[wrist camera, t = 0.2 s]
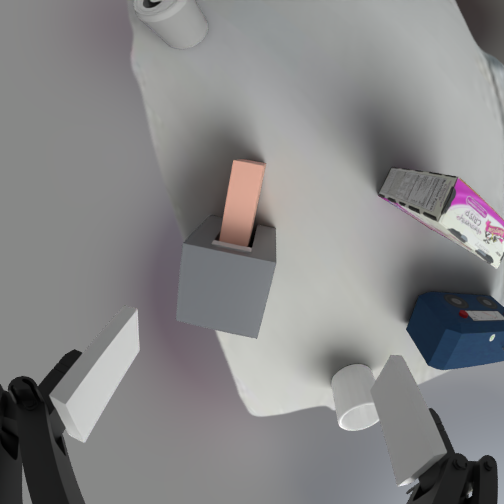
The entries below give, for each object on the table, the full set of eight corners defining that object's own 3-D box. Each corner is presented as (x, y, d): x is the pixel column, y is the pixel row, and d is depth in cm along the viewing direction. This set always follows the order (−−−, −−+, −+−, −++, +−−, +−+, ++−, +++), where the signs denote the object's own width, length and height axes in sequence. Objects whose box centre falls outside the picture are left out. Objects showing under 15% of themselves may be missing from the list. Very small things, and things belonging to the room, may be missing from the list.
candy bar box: (444, 201, 34) (516, 231, 19) (431, 230, 36) (497, 272, 21) (390, 163, 34) (459, 174, 18) (375, 195, 35) (437, 224, 20)
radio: (494, 290, 38) (553, 346, 19) (478, 328, 41) (527, 389, 22) (418, 284, 39) (483, 361, 20) (401, 329, 42) (448, 414, 23)
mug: (388, 383, 46) (402, 419, 37) (331, 395, 48) (338, 434, 39) (392, 354, 44) (410, 391, 35) (330, 368, 46) (338, 409, 36)
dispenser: (210, 215, 38) (182, 243, 26) (275, 228, 38) (276, 262, 26) (202, 274, 41) (176, 320, 29) (262, 287, 41) (257, 338, 29)
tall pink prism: (243, 159, 35) (233, 160, 26) (266, 163, 35) (264, 165, 26) (222, 271, 40) (209, 302, 32) (243, 275, 40) (235, 308, 32)
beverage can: (158, 38, 29) (119, 6, 18) (189, 9, 28) (160, -31, 16) (186, 58, 31) (153, 26, 19) (219, 28, 29) (198, -14, 17)
